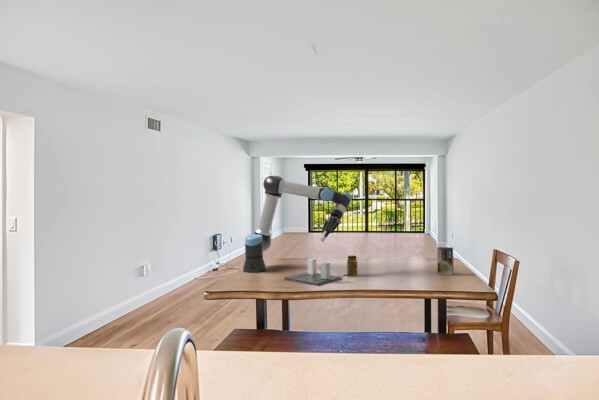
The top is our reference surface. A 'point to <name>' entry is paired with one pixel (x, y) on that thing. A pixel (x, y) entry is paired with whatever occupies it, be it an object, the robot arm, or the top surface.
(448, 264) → the coffee box
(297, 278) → the dark grey flat board
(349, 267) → the condiment
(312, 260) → the block
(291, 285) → the top surface
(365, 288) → the top surface
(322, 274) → the block
